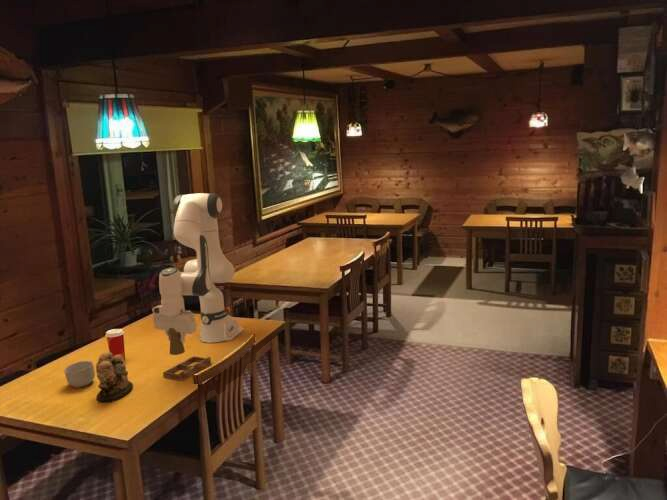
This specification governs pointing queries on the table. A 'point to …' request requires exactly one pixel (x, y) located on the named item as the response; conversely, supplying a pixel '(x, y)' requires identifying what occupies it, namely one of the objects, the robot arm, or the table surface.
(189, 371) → the wooden divided frame
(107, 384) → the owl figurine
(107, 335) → the paper cup
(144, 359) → the table surface
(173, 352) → the cork
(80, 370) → the teacup
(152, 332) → the table surface
